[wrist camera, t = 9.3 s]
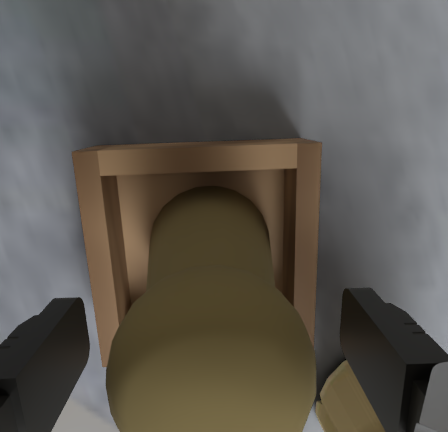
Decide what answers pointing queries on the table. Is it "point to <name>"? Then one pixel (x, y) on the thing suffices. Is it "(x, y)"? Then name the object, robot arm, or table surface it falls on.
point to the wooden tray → (180, 182)
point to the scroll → (345, 404)
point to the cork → (211, 328)
